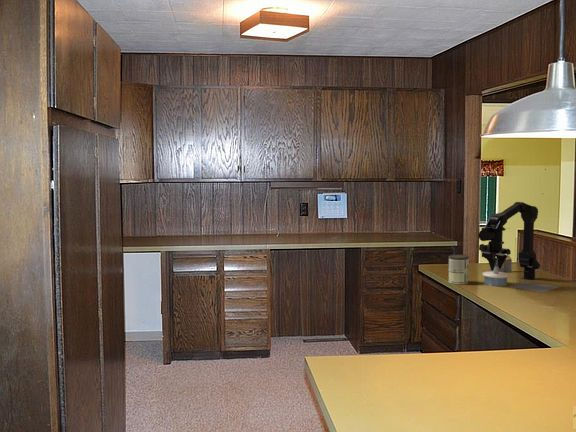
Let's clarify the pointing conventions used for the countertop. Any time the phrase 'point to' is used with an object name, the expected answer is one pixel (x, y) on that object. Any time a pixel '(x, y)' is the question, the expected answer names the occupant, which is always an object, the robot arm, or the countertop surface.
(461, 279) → the coffee can
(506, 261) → the architectural model on board
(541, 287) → the mat
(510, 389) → the countertop surface
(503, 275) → the lid
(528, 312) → the countertop surface
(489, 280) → the bowl
